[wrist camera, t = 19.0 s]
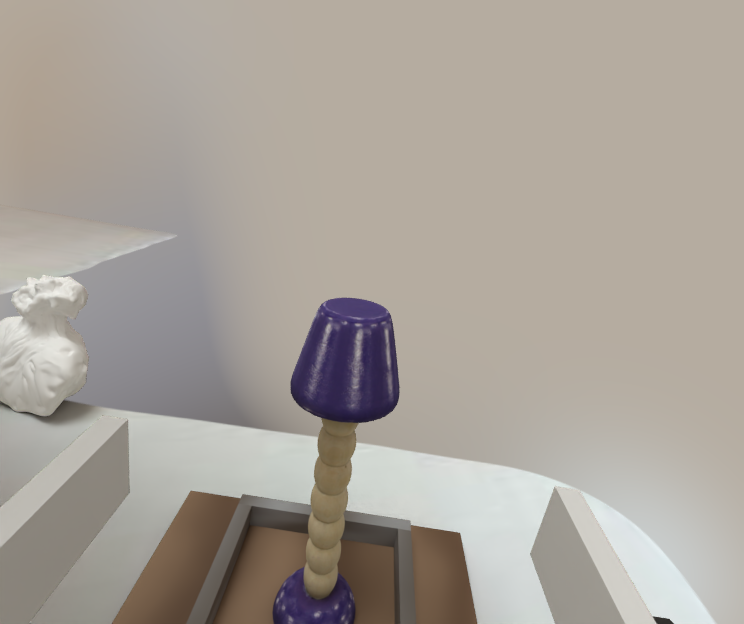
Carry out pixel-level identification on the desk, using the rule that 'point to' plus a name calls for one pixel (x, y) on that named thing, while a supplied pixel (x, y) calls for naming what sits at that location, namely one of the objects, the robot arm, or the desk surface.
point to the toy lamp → (337, 443)
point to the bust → (42, 346)
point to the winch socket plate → (294, 566)
